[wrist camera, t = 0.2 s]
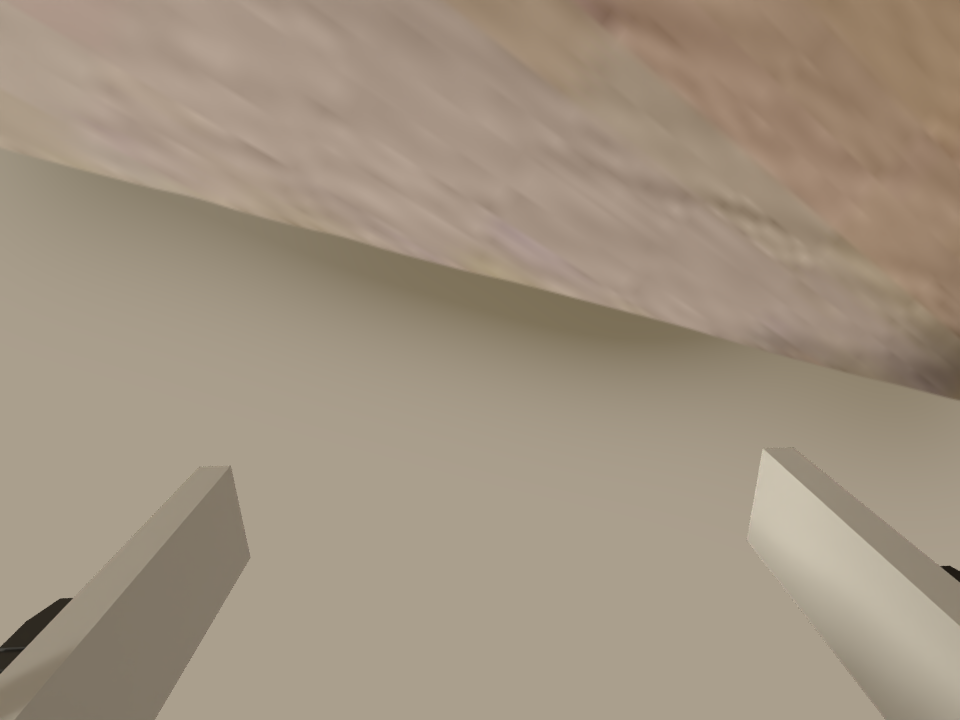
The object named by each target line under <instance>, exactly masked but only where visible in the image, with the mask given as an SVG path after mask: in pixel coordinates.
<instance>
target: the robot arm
mask: <svg viewBox="0 0 960 720" xmlns="http://www.w3.org/2000/svg"><path fill="white" fill-rule="evenodd" d="M747 542H748V543H749V544H750V546H751V547H752V548H753V549H754V551H755V552H756V553H757V555H758V556H759V557H760V558H761V560H762V561H763V562H764V564H765V565H766V566H767V567H768V569H769V570H770V571H771V573H772V574H773V575H774V577H775V578H776V579H777V580H778V582H779V583H780V584H781V586H782V587H783V588H784V589H785V591H786V592H787V593H788V595H789V596H790V597H791V598H792V600H793V601H794V602H795V604H796V605H797V606H798V607H799V609H800V610H801V611H802V612H803V614H804V615H805V616H806V618H807V619H808V620H809V622H810V623H811V624H812V625H813V627H814V628H815V629H816V631H817V632H818V633H819V634H820V636H821V637H822V638H823V640H824V641H825V642H826V643H827V645H828V646H829V647H830V649H831V650H832V651H833V653H834V654H835V655H836V656H837V658H838V659H839V660H840V662H841V663H842V664H843V665H844V667H845V668H846V669H847V671H848V672H849V673H850V674H851V675H852V677H853V678H854V680H855V681H856V682H857V683H858V685H859V686H860V687H861V688H862V690H863V691H864V692H865V694H866V695H867V696H868V698H869V699H870V700H871V702H872V703H873V704H874V705H875V707H876V708H877V709H878V710H879V712H880V713H881V714H882V715H883V717H884V718H885V720H960V571H958V570H956V569H955V568H953V567H951V566H939V565H938V564H936V563H935V562H934V561H933V560H932V559H930V558H929V557H928V556H927V555H925V554H924V553H923V552H922V551H920V550H919V549H918V548H917V547H915V546H914V545H913V544H912V543H911V542H909V541H908V540H907V539H906V538H904V537H903V536H902V535H901V534H900V533H898V532H897V531H896V530H895V529H893V528H892V527H891V526H890V525H888V524H887V523H886V522H885V521H884V520H882V519H881V518H880V517H878V516H877V515H876V514H875V513H873V512H872V511H871V510H870V509H869V508H868V507H866V506H865V505H864V504H863V503H861V502H860V501H859V500H858V499H856V498H855V497H854V496H853V495H851V494H850V493H849V492H848V491H846V490H845V489H844V488H843V487H842V486H840V485H839V484H838V483H837V482H835V481H834V480H833V479H832V478H831V477H829V476H828V475H827V474H826V473H824V472H823V471H822V470H821V469H819V468H818V467H817V466H816V465H815V464H813V463H812V462H811V461H810V460H808V459H807V458H806V457H804V455H802V454H801V453H800V452H799V451H797V450H796V449H795V448H794V447H792V448H791V447H790V448H763V450H762V456H761V462H760V467H759V473H758V479H757V485H756V490H755V496H754V501H753V507H752V513H751V519H750V524H749V530H748V536H747ZM249 559H250V553H249V549H248V544H247V539H246V535H245V530H244V525H243V521H242V516H241V512H240V507H239V502H238V497H237V493H236V488H235V484H234V479H233V474H232V469H231V466H208V467H199V468H198V469H197V470H196V471H195V472H194V473H193V474H192V475H191V476H190V477H189V478H188V479H187V480H186V481H185V482H184V483H183V484H182V486H181V487H180V488H179V489H178V490H177V491H176V492H175V493H174V494H173V495H172V496H171V497H170V498H169V499H168V500H167V501H166V502H165V503H164V504H163V505H162V507H160V508H159V509H158V510H157V512H156V513H155V514H154V515H153V516H152V517H151V518H150V519H149V520H148V521H147V522H146V523H145V524H144V525H143V526H142V527H141V528H140V529H139V530H138V531H137V532H136V533H135V534H134V536H133V537H132V538H131V539H130V540H129V541H128V542H127V543H126V544H125V545H124V546H123V547H122V548H121V549H120V550H119V551H118V552H117V553H116V554H115V555H114V556H113V557H112V558H111V559H110V560H109V561H108V563H107V564H106V565H105V566H104V567H103V568H102V569H101V570H100V571H99V572H98V573H97V574H96V575H95V576H94V577H93V578H92V579H91V580H90V581H89V582H88V584H86V586H85V587H84V588H83V589H82V590H81V591H80V592H79V593H78V594H77V595H76V596H75V597H74V598H63V599H59V600H58V601H56V602H54V603H53V604H52V605H50V606H49V607H47V608H46V609H44V610H43V611H41V612H40V613H38V614H37V615H35V616H34V617H32V618H31V619H29V620H28V621H26V622H25V623H24V624H23V625H22V626H21V627H20V628H19V629H18V630H17V631H16V632H15V633H14V634H13V635H12V636H11V637H10V638H9V639H8V640H7V641H6V642H5V643H4V644H3V645H2V646H1V647H0V720H155V718H156V717H157V715H158V713H159V712H160V710H161V708H162V707H163V705H164V703H165V701H166V700H167V698H168V696H169V695H170V693H171V691H172V690H173V688H174V686H175V685H176V683H177V681H178V679H179V678H180V676H181V674H182V673H183V671H184V669H185V667H186V665H187V664H188V662H189V661H190V659H191V657H192V656H193V654H194V652H195V651H196V649H197V647H198V646H199V644H200V642H201V640H202V639H203V637H204V635H205V634H206V632H207V630H208V628H209V627H210V625H211V623H212V622H213V620H214V618H215V617H216V615H217V613H218V612H219V610H220V608H221V607H222V605H223V603H224V601H225V600H226V598H227V596H228V595H229V593H230V591H231V590H232V588H233V586H234V584H235V583H236V581H237V579H238V578H239V576H240V574H241V573H242V571H243V569H244V568H245V566H246V564H247V562H248V561H249Z"/></svg>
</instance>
